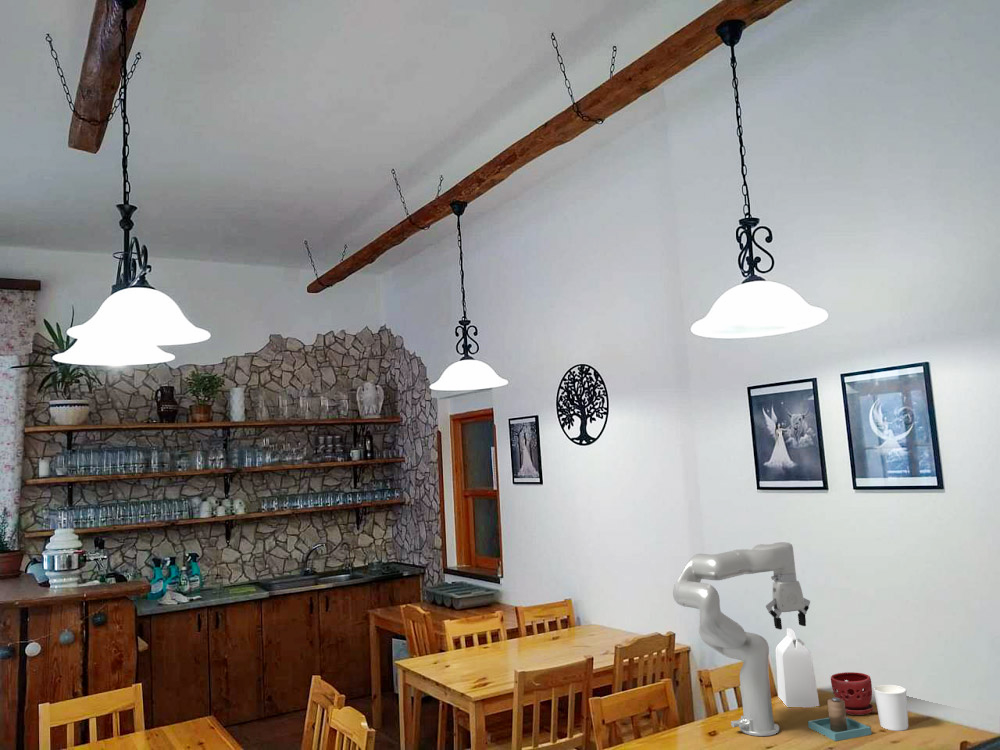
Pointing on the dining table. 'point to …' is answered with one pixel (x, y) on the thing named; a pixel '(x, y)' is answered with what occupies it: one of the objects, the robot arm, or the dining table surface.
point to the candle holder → (892, 707)
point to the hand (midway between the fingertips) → (790, 627)
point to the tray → (853, 731)
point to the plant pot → (853, 692)
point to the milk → (795, 673)
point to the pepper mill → (837, 714)
